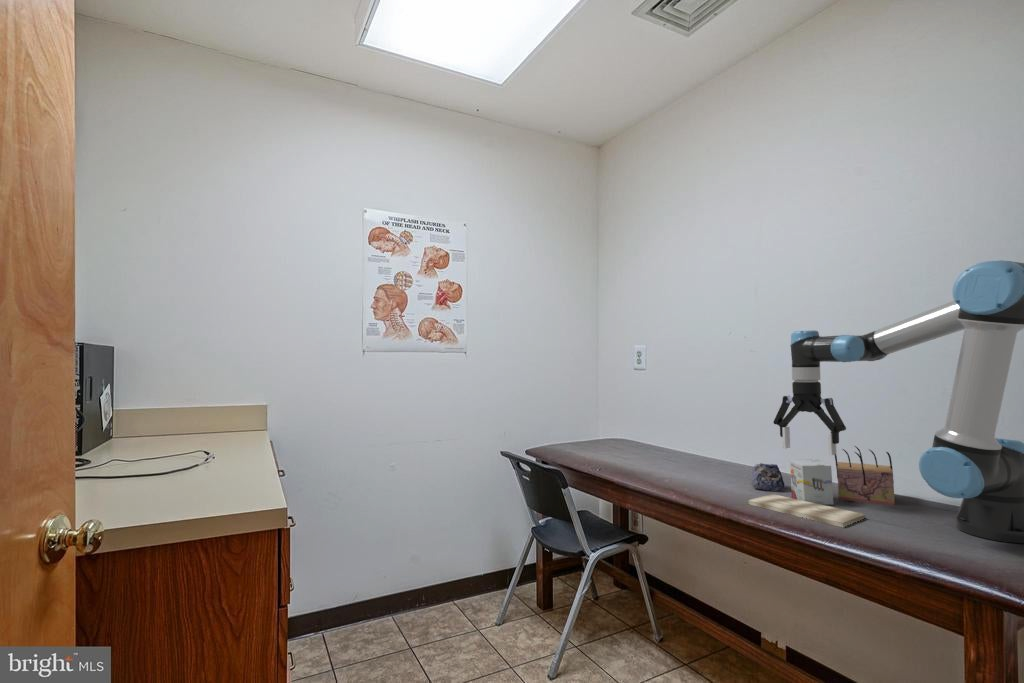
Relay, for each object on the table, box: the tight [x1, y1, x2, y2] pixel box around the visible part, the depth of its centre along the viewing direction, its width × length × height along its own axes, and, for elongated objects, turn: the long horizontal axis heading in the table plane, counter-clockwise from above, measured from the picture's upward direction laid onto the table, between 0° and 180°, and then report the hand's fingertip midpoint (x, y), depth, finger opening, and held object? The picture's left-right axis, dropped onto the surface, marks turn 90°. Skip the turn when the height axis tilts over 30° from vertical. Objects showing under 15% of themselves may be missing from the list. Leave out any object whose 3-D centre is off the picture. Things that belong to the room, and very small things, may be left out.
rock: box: [750, 462, 785, 492], centre depth 169 cm, size 11×10×10 cm
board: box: [747, 493, 867, 528], centre depth 143 cm, size 26×12×1 cm, turn 32°
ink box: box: [789, 458, 834, 506], centre depth 153 cm, size 9×9×12 cm
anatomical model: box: [834, 445, 896, 506], centre depth 155 cm, size 16×11×15 cm
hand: (808, 451), depth 153 cm, fingers open, 13 cm apart
